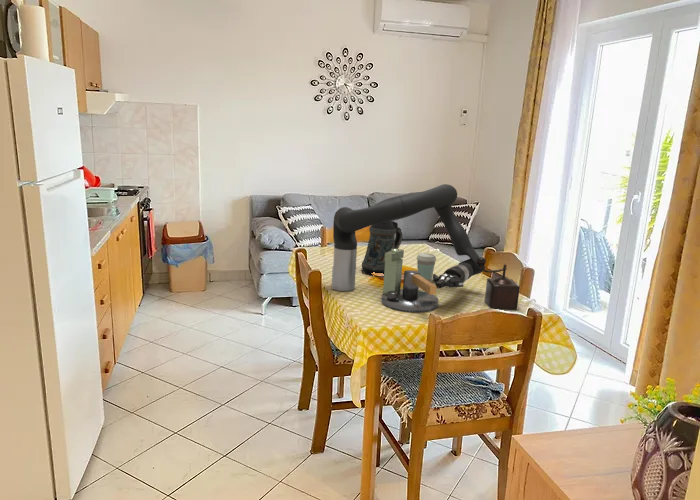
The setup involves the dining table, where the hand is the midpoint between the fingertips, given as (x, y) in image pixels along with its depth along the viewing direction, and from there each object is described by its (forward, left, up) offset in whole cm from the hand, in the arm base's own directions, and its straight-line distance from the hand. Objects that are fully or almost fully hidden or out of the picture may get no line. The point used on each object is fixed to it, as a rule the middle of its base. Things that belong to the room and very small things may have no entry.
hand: (438, 285), depth 193 cm
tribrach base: (-9, +10, -11) cm, 18 cm away
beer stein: (-22, +52, -11) cm, 58 cm away
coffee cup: (-2, +41, -11) cm, 43 cm away
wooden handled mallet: (-6, +3, -8) cm, 11 cm away
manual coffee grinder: (+24, +16, -11) cm, 31 cm away
